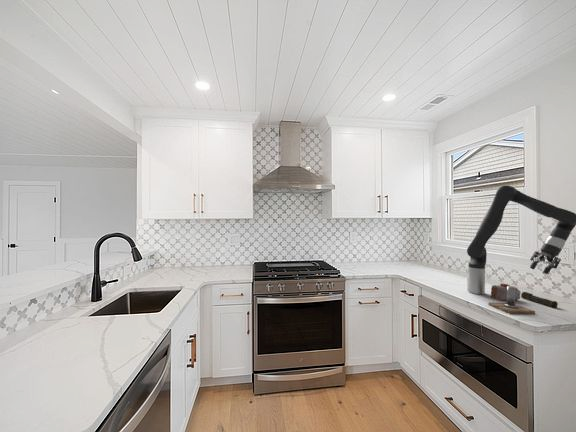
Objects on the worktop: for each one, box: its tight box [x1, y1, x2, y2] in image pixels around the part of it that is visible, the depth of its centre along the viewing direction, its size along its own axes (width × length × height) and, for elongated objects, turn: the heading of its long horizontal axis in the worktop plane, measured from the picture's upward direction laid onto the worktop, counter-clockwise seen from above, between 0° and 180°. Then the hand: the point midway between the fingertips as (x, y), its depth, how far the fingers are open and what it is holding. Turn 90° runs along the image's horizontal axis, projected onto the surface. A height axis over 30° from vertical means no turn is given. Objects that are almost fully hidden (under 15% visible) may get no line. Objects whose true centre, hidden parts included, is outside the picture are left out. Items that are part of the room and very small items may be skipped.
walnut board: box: [488, 301, 536, 315], centre depth 145 cm, size 14×14×2 cm
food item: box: [490, 283, 522, 302], centre depth 163 cm, size 14×8×10 cm, turn 87°
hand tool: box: [520, 291, 559, 309], centre depth 157 cm, size 19×4×5 cm, turn 5°
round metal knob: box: [503, 285, 518, 308], centre depth 145 cm, size 6×6×11 cm
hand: (538, 271), depth 147 cm, fingers open, 8 cm apart
